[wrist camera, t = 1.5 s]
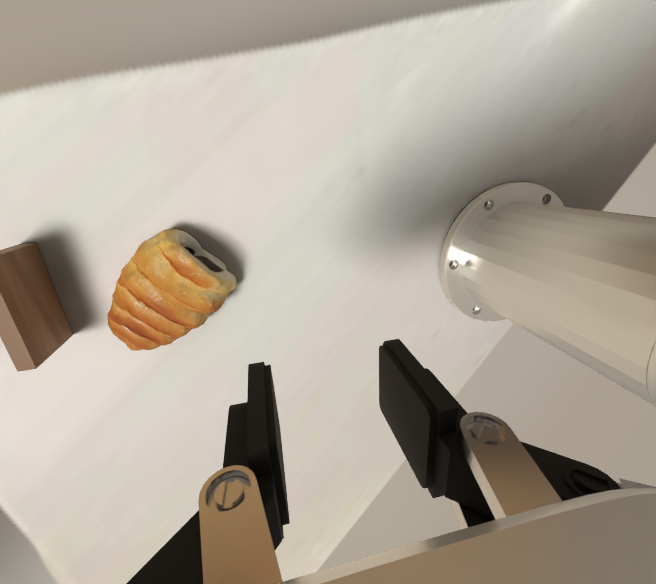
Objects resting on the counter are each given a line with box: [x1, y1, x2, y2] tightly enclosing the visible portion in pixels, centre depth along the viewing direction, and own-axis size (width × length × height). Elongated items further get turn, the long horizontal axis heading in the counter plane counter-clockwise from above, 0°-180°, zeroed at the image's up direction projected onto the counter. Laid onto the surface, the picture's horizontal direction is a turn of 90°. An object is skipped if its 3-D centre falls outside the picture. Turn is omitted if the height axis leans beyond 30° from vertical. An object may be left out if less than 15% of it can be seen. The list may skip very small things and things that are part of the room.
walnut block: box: [0, 243, 73, 371], centre depth 21 cm, size 1×7×4 cm, turn 4°
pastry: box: [108, 229, 237, 350], centre depth 23 cm, size 9×7×4 cm
